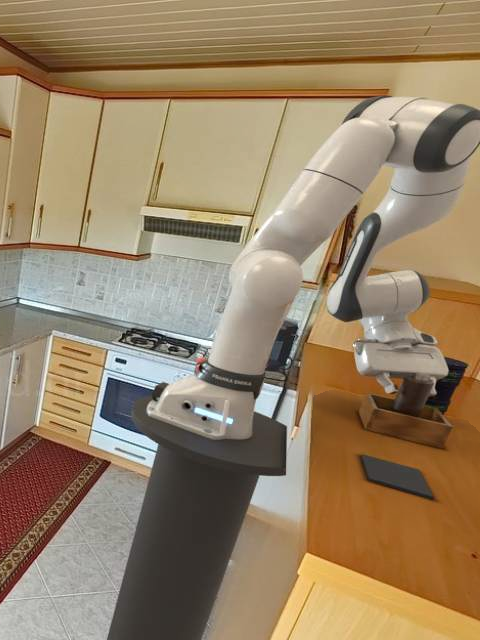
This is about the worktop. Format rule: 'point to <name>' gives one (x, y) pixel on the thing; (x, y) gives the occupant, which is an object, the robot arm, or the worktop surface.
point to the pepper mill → (412, 395)
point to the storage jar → (447, 385)
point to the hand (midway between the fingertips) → (411, 394)
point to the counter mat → (396, 476)
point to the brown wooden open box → (404, 422)
